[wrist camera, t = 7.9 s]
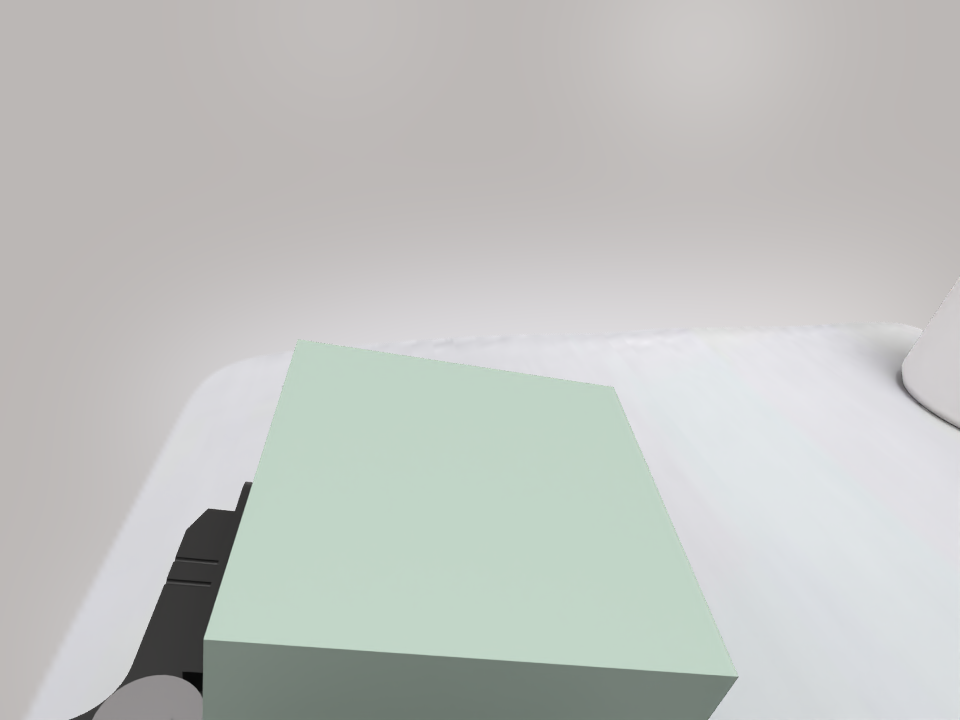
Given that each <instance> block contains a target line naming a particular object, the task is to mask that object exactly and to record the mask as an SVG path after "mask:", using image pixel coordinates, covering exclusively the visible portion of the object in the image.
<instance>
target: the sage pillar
mask: <svg viewBox="0 0 960 720" xmlns="http://www.w3.org/2000/svg"><path fill="white" fill-rule="evenodd" d="M737 678H738V674H737V672H736V670H735V667H734V665H733V663H732V660H731V658H730V656H729V653H728V651H727V649H726V646H725V644H724V642H723V640H722V637H721V635H720V633H719V630H718V628H717V626H716V623H715V621H714V619H713V616H712V614H711V612H710V609H709V607H708V605H707V602H706V600H705V598H704V596H703V593H702V591H701V589H700V586H699V584H698V582H697V579H696V577H695V575H694V572H693V570H692V568H691V565H690V563H689V561H688V558H687V556H686V554H685V551H684V549H683V547H682V545H681V542H680V540H679V538H678V535H677V533H676V531H675V528H674V526H673V524H672V521H671V519H670V517H669V514H668V512H667V510H666V507H665V505H664V503H663V501H662V498H661V496H660V494H659V491H658V489H657V487H656V484H655V482H654V480H653V477H652V475H651V473H650V470H649V468H648V466H647V463H646V461H645V459H644V457H643V454H642V452H641V450H640V447H639V445H638V443H637V440H636V438H635V436H634V433H633V431H632V429H631V426H630V424H629V422H628V419H627V417H626V415H625V413H624V410H623V408H622V406H621V403H620V401H619V399H618V396H617V394H616V392H615V389H614V387H609V386H603V385H596V384H590V383H583V382H576V381H570V380H563V379H557V378H550V377H543V376H537V375H530V374H524V373H517V372H510V371H504V370H497V369H491V368H484V367H477V366H471V365H464V364H457V363H451V362H444V361H438V360H431V359H424V358H418V357H411V356H405V355H398V354H391V353H385V352H378V351H372V350H365V349H358V348H352V347H345V346H339V345H332V344H325V343H319V342H312V341H305V340H298V341H297V344H296V347H295V350H294V353H293V357H292V360H291V363H290V366H289V369H288V372H287V376H286V379H285V382H284V385H283V388H282V392H281V395H280V398H279V401H278V404H277V407H276V411H275V414H274V417H273V420H272V423H271V427H270V430H269V433H268V436H267V439H266V442H265V446H264V449H263V452H262V455H261V458H260V462H259V465H258V468H257V471H256V474H255V477H254V481H253V484H252V487H251V490H250V493H249V496H248V500H247V503H246V506H245V509H244V512H243V516H242V519H241V522H240V525H239V528H238V531H237V535H236V538H235V541H234V544H233V547H232V551H231V554H230V557H229V560H228V563H227V566H226V570H225V573H224V576H223V579H222V582H221V586H220V589H219V592H218V595H217V598H216V601H215V605H214V608H213V611H212V614H211V617H210V621H209V624H208V627H207V630H206V633H205V636H204V642H203V714H202V720H708V719H709V718H710V716H711V715H712V713H713V712H714V711H715V709H716V708H717V706H718V705H719V704H720V702H721V701H722V699H723V698H724V697H725V695H726V694H727V692H728V691H729V690H730V688H731V687H732V685H733V684H734V682H735V681H736V680H737Z"/></svg>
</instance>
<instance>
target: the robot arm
mask: <svg viewBox="0 0 960 720" xmlns="http://www.w3.org/2000/svg"><path fill="white" fill-rule="evenodd" d="M252 484H253V482H245V484H244V486H243V488H242V491H241V494H240V497H239V501H238V504H237V507H236V510H235V511H227V510H217V509H207V510H206V511H205V512H204V513H203V514H202V515H201V516H200V517H199V518H198V519H197V520H196V521H195V522H194V523H193V524H192V525H191V526H190V527H189V528H188V529H187V530H186V532H185V535H184V537H183V540H182V542H181V545H180V547H179V550H178V552H177V555H176V558H175V562H173V565H172V567H171V570H170V572H169V575H168V577H167V582H166V584H165V585H164V587H163V590H162V592H161V595H160V597H159V600H158V602H157V605H156V607H155V610H154V612H153V615H152V617H151V620H150V622H149V625H148V627H147V630H146V632H145V635H144V637H143V640H142V642H141V645H140V647H139V650H138V652H137V654H136V657H135V659H134V662H133V664H132V667H131V669H130V671H129V673H128V675H127V676H126V678H125V679H124V681H123V682H122V684H121V685H120V686H119V687H118V688H117V689H116V691H115V692H114V693H113V694H112V695H110V696H109V697H108V698H107V699H106V700H105V701H103V702H102V703H101V704H99V705H98V706H96V707H95V708H93V709H91V710H90V711H88V712H86V713H84V714H82V715H80V716H78V717H75V718H73V719H70V720H202V714H203V642H204V636H205V633H206V630H207V627H208V624H209V621H210V617H211V614H212V611H213V608H214V605H215V601H216V598H217V595H218V592H219V589H220V586H221V582H222V579H223V576H224V573H225V570H226V566H227V563H228V560H229V557H230V554H231V551H232V547H233V544H234V541H235V538H236V535H237V531H238V528H239V525H240V522H241V519H242V516H243V512H244V509H245V506H246V503H247V500H248V496H249V493H250V490H251V487H252Z"/></svg>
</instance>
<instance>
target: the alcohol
mask: <svg viewBox="0 0 960 720" xmlns="http://www.w3.org/2000/svg"><path fill="white" fill-rule="evenodd" d="M902 379H903V384H904V386H905V388H906V389H907V391H908V392H909V393H910V394H911V395H912V396H913V398H914V399H916V400H917V401H918V402H919V403H920V404H922V405H923V406H924V407H925V408H927V409H928V410H930V411H931V412H933V413H934V414H936V415H937V416H939V417H940V418H942V419H944V420H945V421H947V422H949V423H951V424H953V425H955V426H956V427H958V428H960V277H959V278H958V280H957V281H956V283H955V284H954V286H953V287H952V289H951V290H950V292H949V293H948V295H947V296H946V298H945V299H944V301H943V302H942V304H941V305H940V307H939V308H938V310H937V311H936V313H935V314H934V316H933V317H932V319H931V320H930V322H929V323H928V325H927V326H926V328H925V329H924V331H923V332H922V334H921V335H920V337H919V338H918V340H917V341H916V343H915V344H914V346H913V347H912V349H911V350H910V352H909V353H908V355H907V356H906V358H905V359H904V361H903V363H902Z"/></svg>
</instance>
